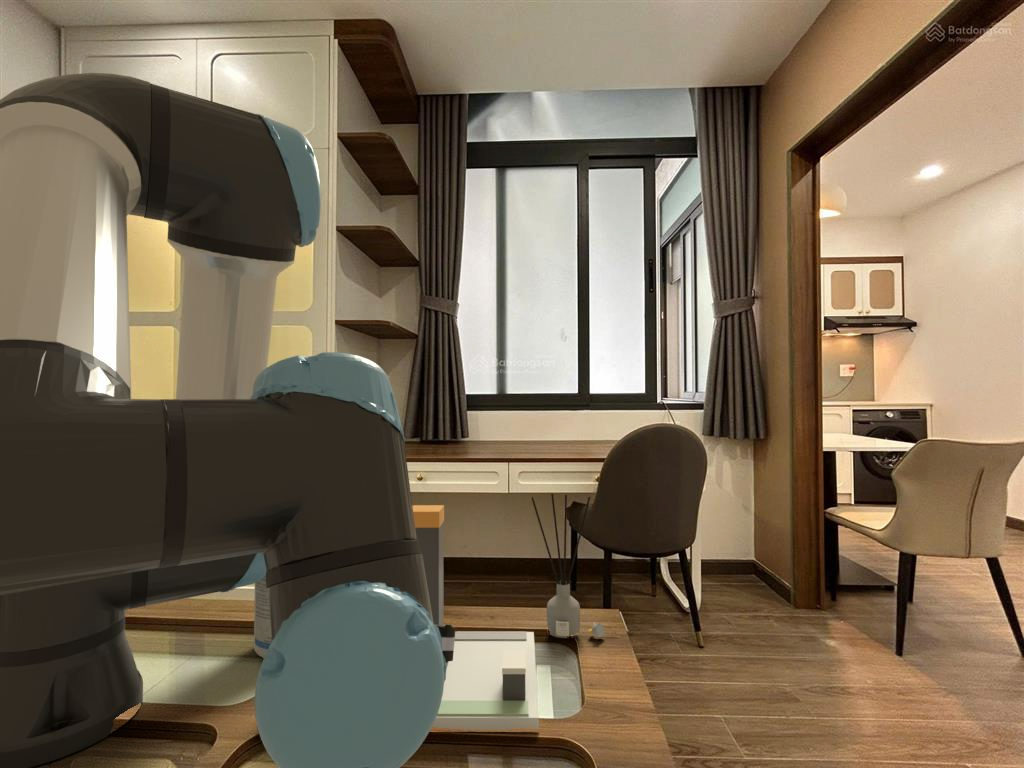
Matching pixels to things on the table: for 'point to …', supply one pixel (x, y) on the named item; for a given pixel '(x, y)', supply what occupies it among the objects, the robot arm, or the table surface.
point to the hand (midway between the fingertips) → (379, 627)
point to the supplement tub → (261, 618)
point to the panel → (490, 682)
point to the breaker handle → (431, 553)
